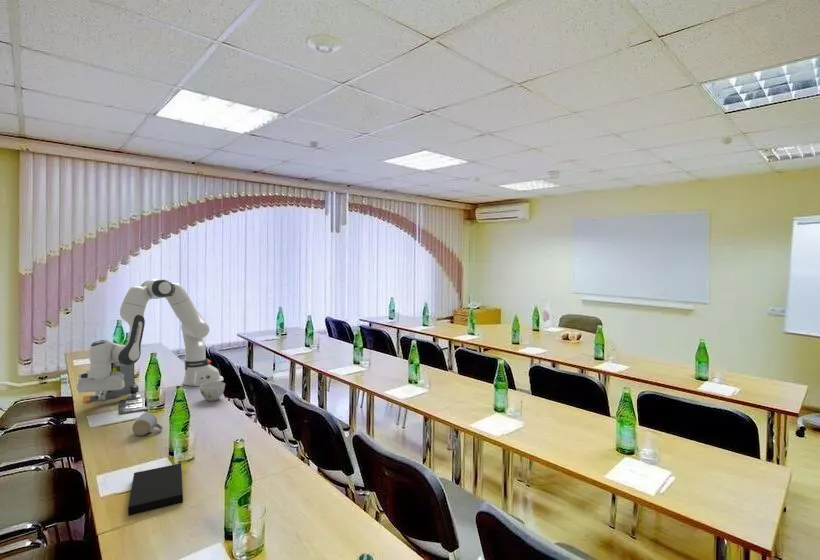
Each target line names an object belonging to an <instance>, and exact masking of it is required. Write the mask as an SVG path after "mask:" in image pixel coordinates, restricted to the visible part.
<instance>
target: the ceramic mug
mask: <svg viewBox="0 0 820 560" xmlns="http://www.w3.org/2000/svg"><path fill="white" fill-rule="evenodd" d="M154 428H158V429H154ZM131 430H132V432H133V434H134V435H135V436H139V437H142V436H145V435H147V434H150V433H152V434H160V433H161V432H162V430H163V426H162V425H161V424H160V423H158V419H157V416H156V415H155V414H154V413H151V412H143V413H142V414H140V415H139V417H138V418H137V419H136V420H135V422H134V423H133V424H132V427H131Z"/></svg>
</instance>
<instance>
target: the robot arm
mask: <svg viewBox="0 0 820 560" xmlns="http://www.w3.org/2000/svg"><path fill="white" fill-rule="evenodd" d="M161 298H165V299H166V300H167V302H168V304H169V305H170V308H171V309H172V312H173V313H174V315H175V316H176V318H178V320H179V322H180V323H181V327H180V329H181V332H182V337H183V343H184V350H185V351H184V352H185V355H184V356H185V357H184V358H185V359H184V377H183V381H182V384H183V385H185V386H194V387H200V386H201V385H203V384H206V383H211V382H223V381H224V377H223V376H222V375H220V372H219V369H218V368H217V367H215V366H213V365H212V360H210V359H208V358H206V344H205V341H204V338H206V337H207V336H208V335H209V333H210V327H209V325H208V323H207V322H206V321H205V318H204V317H202V315H201V313H200V312H199V311H198V310H197V309H196V307H195V305H194V303H193V301H192V300H191V298H190V295H189V294H188V293H187V291H186V289H185V288H184V287H183V286H182V285H181V284H180V283H178V282H171V281H170V280H169V279H168V280H167V279H166V278H155V279H151V280H146V281H144V282H143V283H141V285H139V286H138V285H136V286H135V285H134V286H131V287H130V288H128V291H127V292H126V294H125V296H124V298H123V300H122V303H121V305H120V308H119V315H120V317H121V319H122V320H123V321H124V322H125V323H127V324H128V325H129V329H130V330H129V334H128V337H127V338H128V339H127V342H126V344H119V343H115V342H111V341H109V340H108V339H101V340H96V341H94V342H92V343H91V344H90V347H89V353H88V356H89V358H88V359H89V363H90V366H89V370H85V371H84V372H83V371H82V372H81V373H79V375H78V376H77V377H78V380H77V382H76V383H77V384H76V391H77V393H93V392H95V393H94V394H96V395H97V396H98V400H100V401H105V400H106V399H105V395H106V393H107V392H108V391H112V390H122V389H123V388H124V387H125V383H124V374H123V373H122V372H111V363H113V362H115V363H122V364H125V365H132V364H134V365H135V363H137V362H138V361H139V359H140V357H141V354H142V350H141V349H142V348H141V347H142V340H143V335H144V331H145V326H146V325H145V324H146V321H145V317H144V315H145V311H146V308H147V304H148V302H149V301H150V300H157V299H161ZM121 373H122V374H121ZM102 391H103V393H104V394H103V395H101V394H100V393H102ZM104 399H105V400H104Z"/></svg>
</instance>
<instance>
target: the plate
mask: <svg viewBox="0 0 820 560" xmlns="http://www.w3.org/2000/svg"><path fill="white" fill-rule="evenodd" d="M145 397H146V396H140V398H133V399H127V398H126V399H121V400H119V409H118V411H119V412H118V414H120V415H125V413H126V414H131V412H132V413H138V411H139V412H143V411H144V412H145V411H148V410H147V408H146V407H145Z"/></svg>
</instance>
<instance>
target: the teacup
mask: <svg viewBox="0 0 820 560" xmlns="http://www.w3.org/2000/svg"><path fill="white" fill-rule="evenodd" d="M225 388H226V383H225V382H223V381H221V382H211V383H206V384H203V385H201V386H199V391H200V395H201V396H202V397H203V398H204V399H205V400H206V401H207V402H215V401H217V400H219V398H221V396H222V395H223V394H224V392H225Z"/></svg>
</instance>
